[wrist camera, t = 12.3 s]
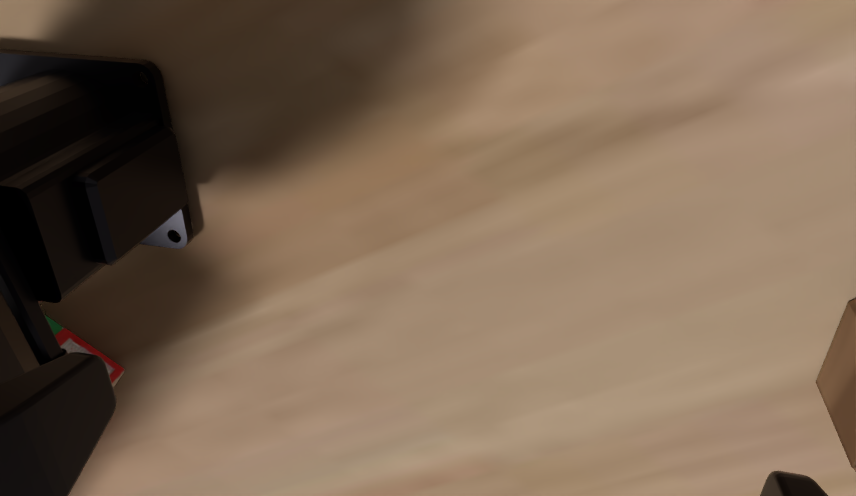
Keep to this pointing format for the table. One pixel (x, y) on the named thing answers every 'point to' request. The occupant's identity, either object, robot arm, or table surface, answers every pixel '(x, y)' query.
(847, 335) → the bead
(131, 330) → the table surface
